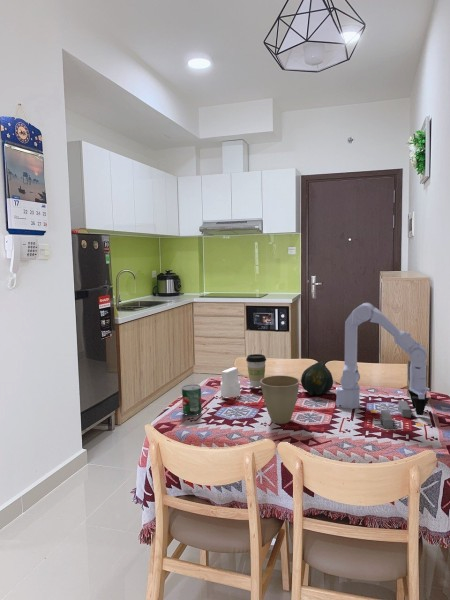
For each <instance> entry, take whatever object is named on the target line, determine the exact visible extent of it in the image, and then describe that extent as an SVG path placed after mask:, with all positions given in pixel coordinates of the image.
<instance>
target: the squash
mask: <svg viewBox="0 0 450 600" xmlns="http://www.w3.org/2000/svg"><path fill="white" fill-rule="evenodd" d="M300 384H301V387H302V388H303V390H305V391H306V393H307V394H308V395H311V396H313V395H317V396H319V395H321V394H327V393H328V392H330V390H331V389H332V388H333V384H334V380H333V375H332V373H331V371H330V369H329V368H328V367H327V366H326V365H325V363H324V362H323V361H318V362H315V363H314V364H311V365H310V366H309V367H307V368H306V369H305V370H304V371H303V372H302V374H301V377H300Z"/></svg>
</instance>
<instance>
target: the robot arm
mask: <svg viewBox="0 0 450 600" xmlns="http://www.w3.org/2000/svg"><path fill="white" fill-rule="evenodd" d="M369 320H370V321H369ZM367 321H369V322H370V323H375V324H379V326H381V327H382V328H383V329H384V330H385V331H387V332H388V333H389V334H390V335H391V336H393V341H394V343H395V344H396V345H397V346H398V347H399V348H401V350H403V352H405V354H408V355H409V359H410V361H411V365H410V389H408V391H409V393H410V396H411V400H410V401H411V404H412V409H415V412H416V414H417V416H423V415H424V413H425V412H424V411H425V409H426V408H425V407H426V406H427V403H428V402H429V398H428V397H426V398H425V393H426V391H427V392H430V391H431V389H430V388H429V387H427V388H426V366H427V355H428V352H427V349H426V347H425V346H424V345H422V344H421V343H420V341H418V342H417V340H415V339H414V338H413V337H412V334H411V332H406V331H405V330H402V331H401V330H400V329H399V328H398V327H397V326H396V325H394V323H393V322H392V321H391V320H390V319H389V318H388V317H386V316H385V315H384V313H383V312H382V311H380V309H378V308H377V307H376V306H374V305H373V303H370V302H363V303H362V304H360V305H358V306H357V307H356V308H354V309H353V310H352V312H351V313H350V314H349V315H348V317H347V319H346V320H345V322H344V362H343V363H344V365H343V370H342V375H341V377H340V380H339V381H340V385H341V386H336V388H335V389H336V400H335V405H336V408H338V409H339V408H344V409H352V410H353V409H357V408H360V402H361V401H360V398H361V397H360V385H359V383H358V382H359V381H360V380H361V374H360V372H359V366H358V327H359V325H361V324H362V323H364V322H367ZM416 414H415V415H416Z"/></svg>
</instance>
